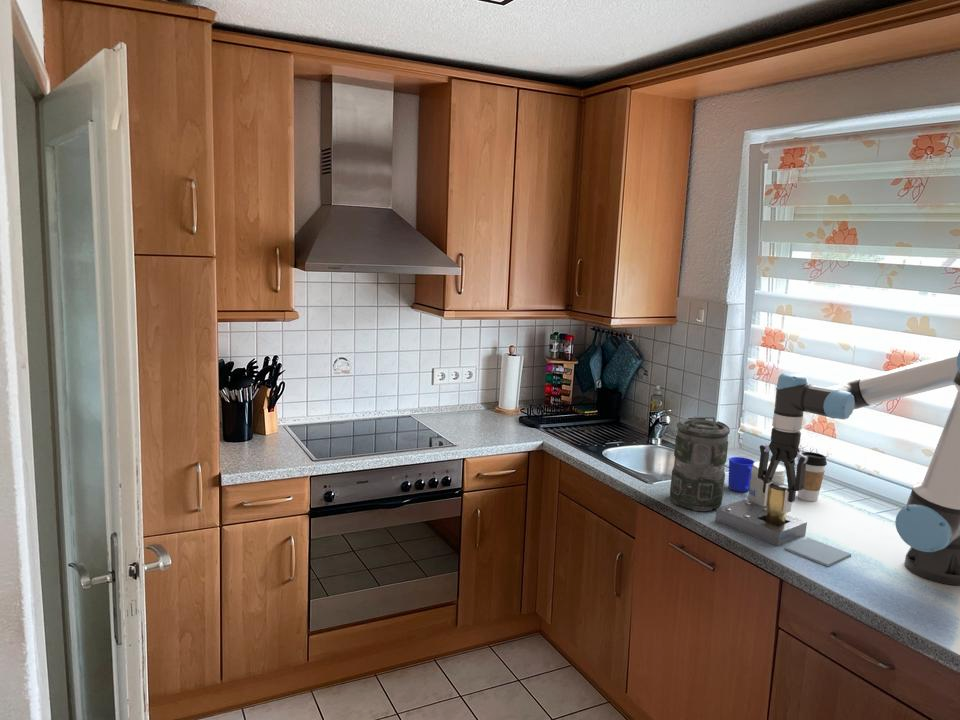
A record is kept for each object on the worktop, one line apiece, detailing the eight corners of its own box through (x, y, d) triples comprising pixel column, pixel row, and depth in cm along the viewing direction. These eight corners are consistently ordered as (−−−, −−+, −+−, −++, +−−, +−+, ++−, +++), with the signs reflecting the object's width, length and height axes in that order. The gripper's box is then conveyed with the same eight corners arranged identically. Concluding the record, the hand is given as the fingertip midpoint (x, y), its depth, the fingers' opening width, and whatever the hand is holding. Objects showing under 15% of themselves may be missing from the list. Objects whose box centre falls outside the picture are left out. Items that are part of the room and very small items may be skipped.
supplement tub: (741, 505, 225) (746, 460, 222) (770, 505, 226) (775, 460, 223) (755, 517, 215) (761, 470, 213) (785, 517, 216) (791, 471, 214)
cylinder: (788, 523, 203) (793, 486, 201) (778, 527, 200) (783, 490, 198) (772, 517, 207) (776, 481, 205) (761, 521, 204) (766, 484, 202)
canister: (684, 513, 216) (694, 423, 211) (660, 494, 231) (668, 410, 226) (731, 511, 219) (741, 423, 215) (704, 492, 235) (713, 409, 230)
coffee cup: (793, 499, 232) (798, 455, 229) (794, 491, 240) (799, 448, 237) (821, 504, 229) (827, 459, 226) (821, 496, 236) (827, 453, 233)
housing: (805, 535, 204) (807, 520, 203) (777, 546, 195) (779, 531, 195) (743, 511, 219) (744, 498, 219) (715, 521, 211) (716, 507, 210)
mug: (740, 498, 231) (744, 468, 229) (721, 485, 243) (724, 457, 241) (763, 497, 233) (767, 468, 231) (743, 484, 244) (746, 456, 243)
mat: (851, 556, 192) (851, 554, 191) (827, 566, 184) (828, 564, 184) (808, 539, 201) (808, 537, 201) (784, 549, 194) (784, 547, 194)
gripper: (825, 435, 194) (814, 516, 198) (764, 419, 208) (755, 495, 212) (810, 438, 189) (800, 522, 193) (749, 422, 204) (740, 500, 208)
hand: (777, 508), depth 203 cm, fingers closed on cylinder, 5 cm apart
